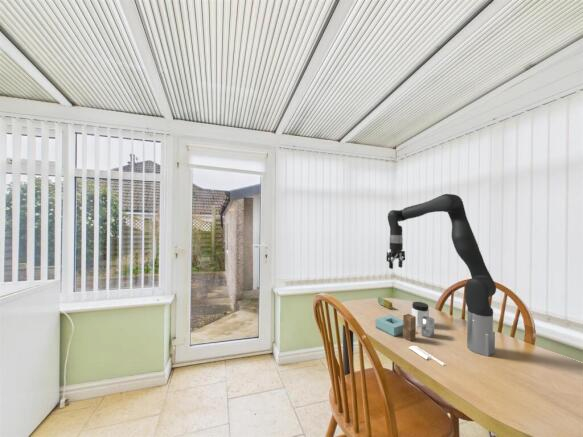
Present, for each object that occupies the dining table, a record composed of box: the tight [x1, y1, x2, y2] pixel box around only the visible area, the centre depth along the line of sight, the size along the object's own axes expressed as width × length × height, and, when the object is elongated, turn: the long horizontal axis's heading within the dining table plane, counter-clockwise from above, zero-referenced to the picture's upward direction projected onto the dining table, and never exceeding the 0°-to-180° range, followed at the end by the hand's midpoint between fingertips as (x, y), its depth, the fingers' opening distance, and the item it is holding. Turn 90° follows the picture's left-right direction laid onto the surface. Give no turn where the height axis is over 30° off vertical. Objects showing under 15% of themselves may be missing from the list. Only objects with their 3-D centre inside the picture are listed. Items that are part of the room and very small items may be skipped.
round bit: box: [420, 316, 435, 339], centre depth 123 cm, size 6×6×9 cm
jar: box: [411, 301, 430, 328], centre depth 136 cm, size 9×8×12 cm
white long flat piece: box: [408, 345, 447, 367], centre depth 103 cm, size 5×15×1 cm, turn 17°
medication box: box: [377, 297, 393, 310], centre depth 166 cm, size 12×3×4 cm, turn 19°
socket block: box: [375, 314, 403, 338], centre depth 129 cm, size 12×12×5 cm
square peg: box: [402, 313, 417, 342], centre depth 119 cm, size 4×4×12 cm
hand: (395, 267), depth 148 cm, fingers open, 8 cm apart
